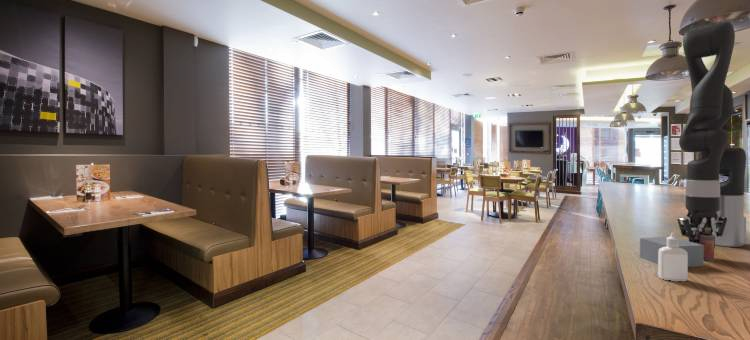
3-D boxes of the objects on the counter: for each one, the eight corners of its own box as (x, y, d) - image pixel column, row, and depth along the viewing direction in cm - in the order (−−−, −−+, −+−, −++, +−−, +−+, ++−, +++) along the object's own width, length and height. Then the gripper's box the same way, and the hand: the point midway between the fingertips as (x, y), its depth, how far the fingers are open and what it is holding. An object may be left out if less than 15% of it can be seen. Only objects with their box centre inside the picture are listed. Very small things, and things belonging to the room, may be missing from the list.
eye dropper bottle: (686, 284, 83) (687, 236, 83) (657, 279, 87) (657, 233, 87) (687, 279, 86) (688, 233, 86) (659, 274, 90) (659, 230, 90)
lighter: (718, 262, 99) (719, 228, 98) (705, 261, 99) (705, 228, 99) (698, 254, 106) (698, 222, 106) (685, 253, 107) (686, 222, 107)
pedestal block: (670, 255, 106) (670, 236, 105) (703, 266, 96) (703, 245, 95) (640, 257, 105) (640, 238, 105) (669, 267, 95) (669, 246, 95)
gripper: (711, 192, 106) (710, 246, 107) (668, 194, 105) (668, 248, 106) (738, 195, 99) (737, 253, 99) (692, 196, 98) (691, 255, 99)
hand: (701, 250), depth 103 cm, fingers open, 4 cm apart
